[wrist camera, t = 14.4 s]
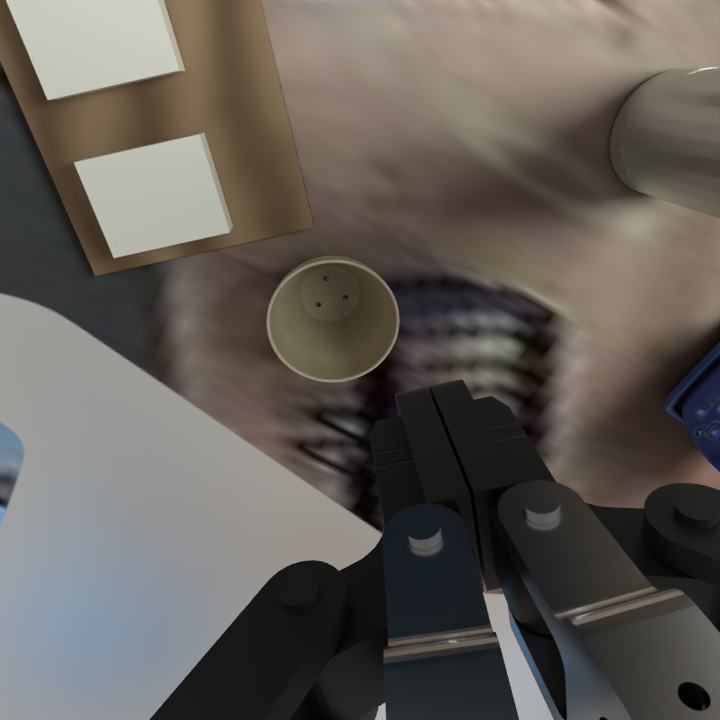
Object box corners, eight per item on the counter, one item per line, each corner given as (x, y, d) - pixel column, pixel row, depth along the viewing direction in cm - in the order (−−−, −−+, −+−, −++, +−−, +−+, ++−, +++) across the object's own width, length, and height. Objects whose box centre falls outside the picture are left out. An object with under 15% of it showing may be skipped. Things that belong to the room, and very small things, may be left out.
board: (237, -97, 35) (235, -102, 34) (313, 224, 45) (314, 227, 44) (-35, -35, 35) (-44, -38, 35) (99, 272, 45) (95, 276, 44)
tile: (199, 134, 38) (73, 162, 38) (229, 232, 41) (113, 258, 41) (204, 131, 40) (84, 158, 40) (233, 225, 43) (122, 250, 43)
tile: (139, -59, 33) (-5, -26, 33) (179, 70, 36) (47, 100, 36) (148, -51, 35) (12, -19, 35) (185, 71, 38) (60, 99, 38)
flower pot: (249, 307, 47) (240, 342, 41) (313, 211, 44) (314, 232, 38) (344, 364, 51) (349, 404, 44) (410, 277, 48) (426, 307, 41)
